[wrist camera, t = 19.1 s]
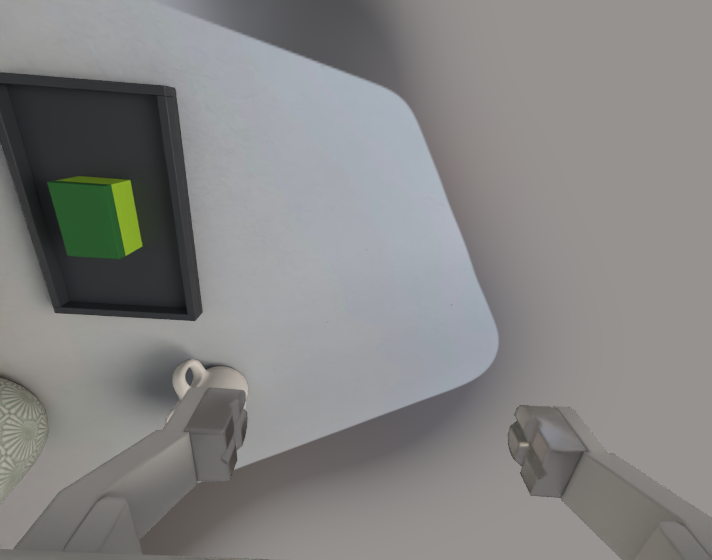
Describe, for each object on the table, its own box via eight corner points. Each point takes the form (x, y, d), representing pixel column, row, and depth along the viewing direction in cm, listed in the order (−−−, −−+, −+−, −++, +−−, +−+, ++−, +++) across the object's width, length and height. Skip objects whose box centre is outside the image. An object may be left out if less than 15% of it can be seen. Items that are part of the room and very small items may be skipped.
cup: (169, 352, 44) (133, 397, 37) (225, 331, 43) (198, 374, 35) (214, 412, 48) (189, 464, 41) (266, 395, 47) (250, 445, 40)
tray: (0, 73, 32) (-23, 70, 30) (175, 88, 32) (164, 85, 30) (68, 304, 41) (54, 313, 39) (202, 312, 42) (195, 321, 40)
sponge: (78, 175, 35) (46, 181, 31) (130, 179, 35) (104, 186, 31) (95, 243, 37) (67, 256, 34) (142, 246, 38) (120, 259, 34)
